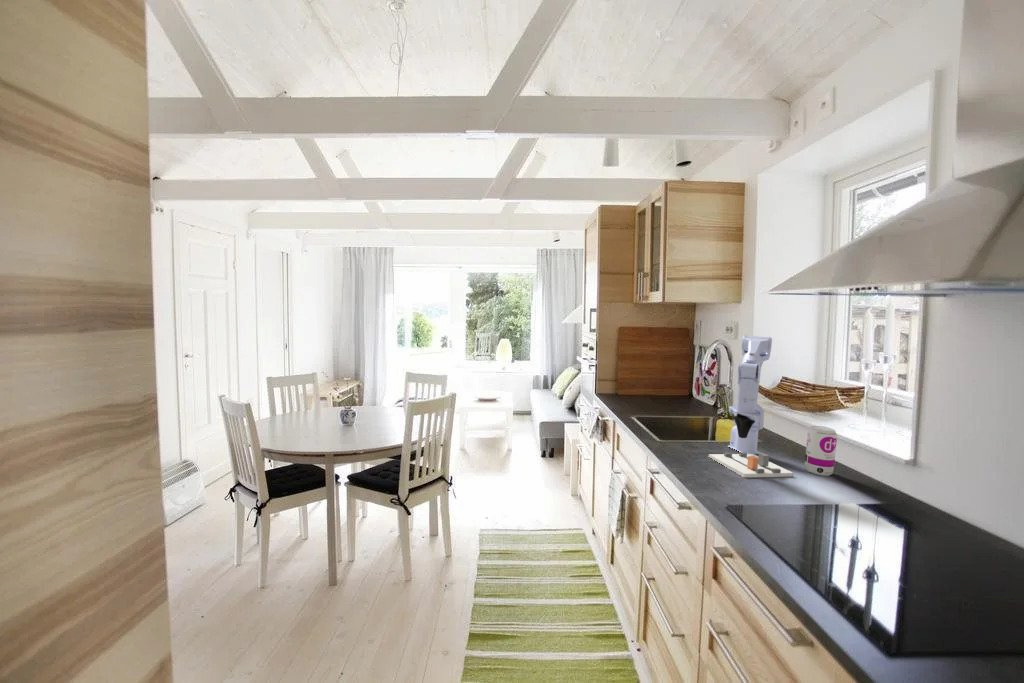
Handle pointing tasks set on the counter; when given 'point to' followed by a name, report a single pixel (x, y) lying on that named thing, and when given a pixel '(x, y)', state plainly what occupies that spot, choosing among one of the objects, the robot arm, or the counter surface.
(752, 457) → the fader orange
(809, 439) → the supplement can
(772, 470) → the panel
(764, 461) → the grey rectangular box
